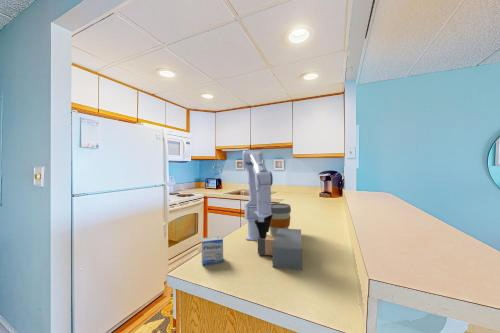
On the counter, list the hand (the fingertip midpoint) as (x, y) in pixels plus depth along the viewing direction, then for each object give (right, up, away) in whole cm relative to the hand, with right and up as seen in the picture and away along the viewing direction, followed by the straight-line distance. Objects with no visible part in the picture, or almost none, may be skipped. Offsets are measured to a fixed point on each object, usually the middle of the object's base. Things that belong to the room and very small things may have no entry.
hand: (264, 234), depth 82 cm
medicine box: (-20, -8, -5) cm, 22 cm away
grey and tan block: (+4, -8, -1) cm, 9 cm away
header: (+9, -8, -2) cm, 12 cm away
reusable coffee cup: (+9, -8, +23) cm, 26 cm away
